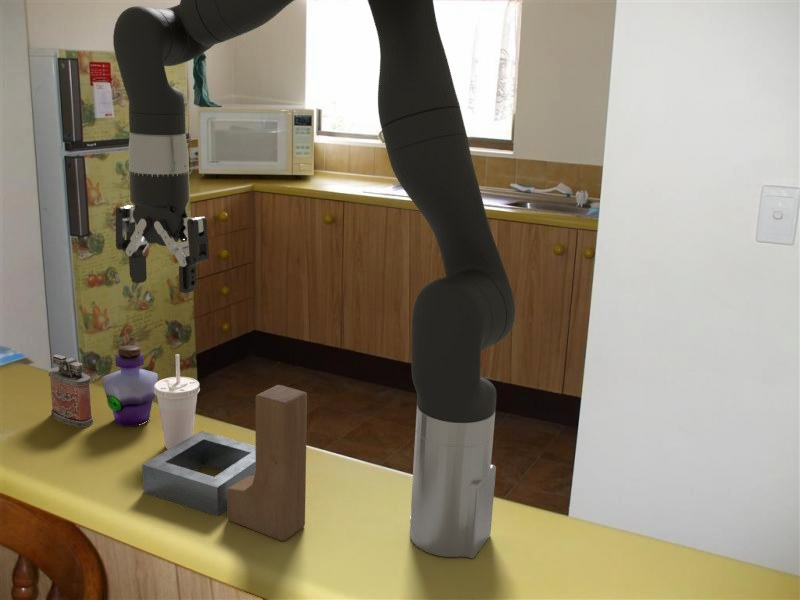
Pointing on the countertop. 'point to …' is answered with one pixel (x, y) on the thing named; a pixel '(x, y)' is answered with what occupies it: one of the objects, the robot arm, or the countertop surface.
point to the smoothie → (177, 406)
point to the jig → (185, 486)
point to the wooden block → (275, 467)
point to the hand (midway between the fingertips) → (162, 286)
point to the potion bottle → (130, 388)
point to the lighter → (70, 392)
